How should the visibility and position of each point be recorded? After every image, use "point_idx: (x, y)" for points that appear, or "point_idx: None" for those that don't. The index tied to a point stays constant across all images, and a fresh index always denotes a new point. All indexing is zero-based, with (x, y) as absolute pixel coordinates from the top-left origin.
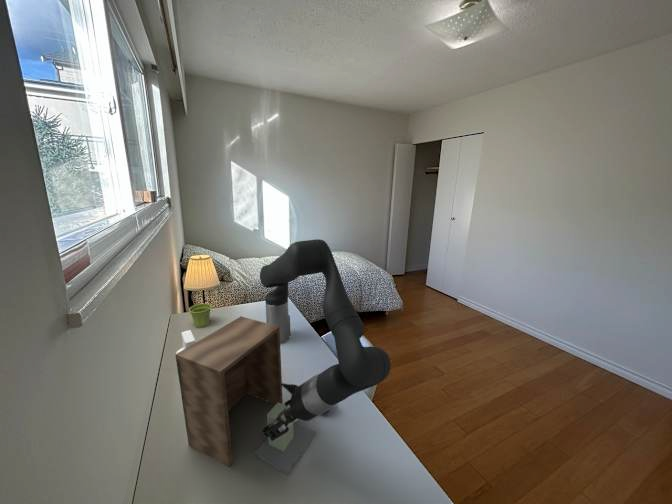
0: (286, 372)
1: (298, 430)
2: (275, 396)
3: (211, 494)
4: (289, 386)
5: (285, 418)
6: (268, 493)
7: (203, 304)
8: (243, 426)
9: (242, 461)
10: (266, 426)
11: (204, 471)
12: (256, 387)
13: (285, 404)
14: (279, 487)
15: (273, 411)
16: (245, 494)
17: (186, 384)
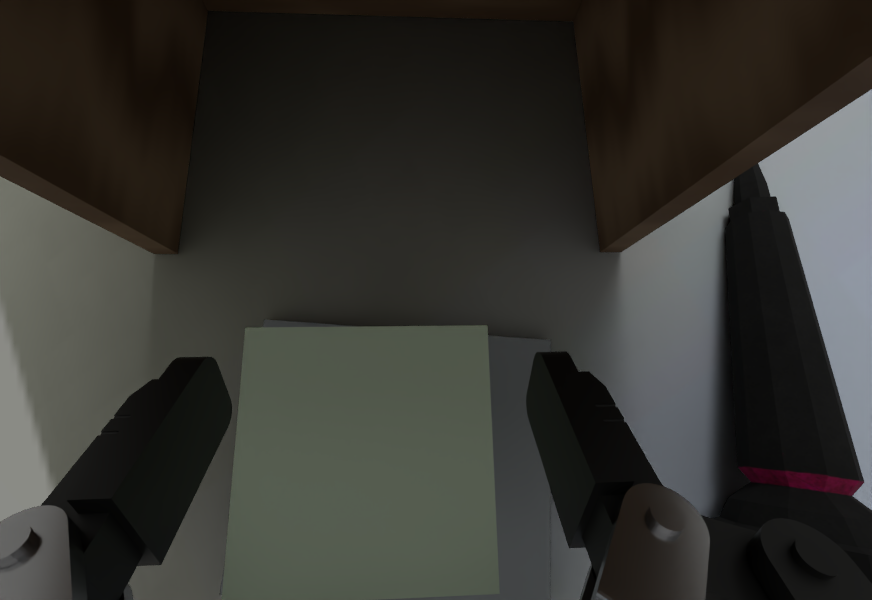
0: (837, 119)
1: (506, 476)
2: (629, 185)
3: (11, 268)
4: (760, 212)
5: (311, 592)
6: None
7: None
8: (386, 149)
9: (209, 286)
10: (177, 394)
11: None
12: (615, 25)
13: (546, 383)
14: (148, 587)
15: (328, 369)
16: (57, 427)
17: None
